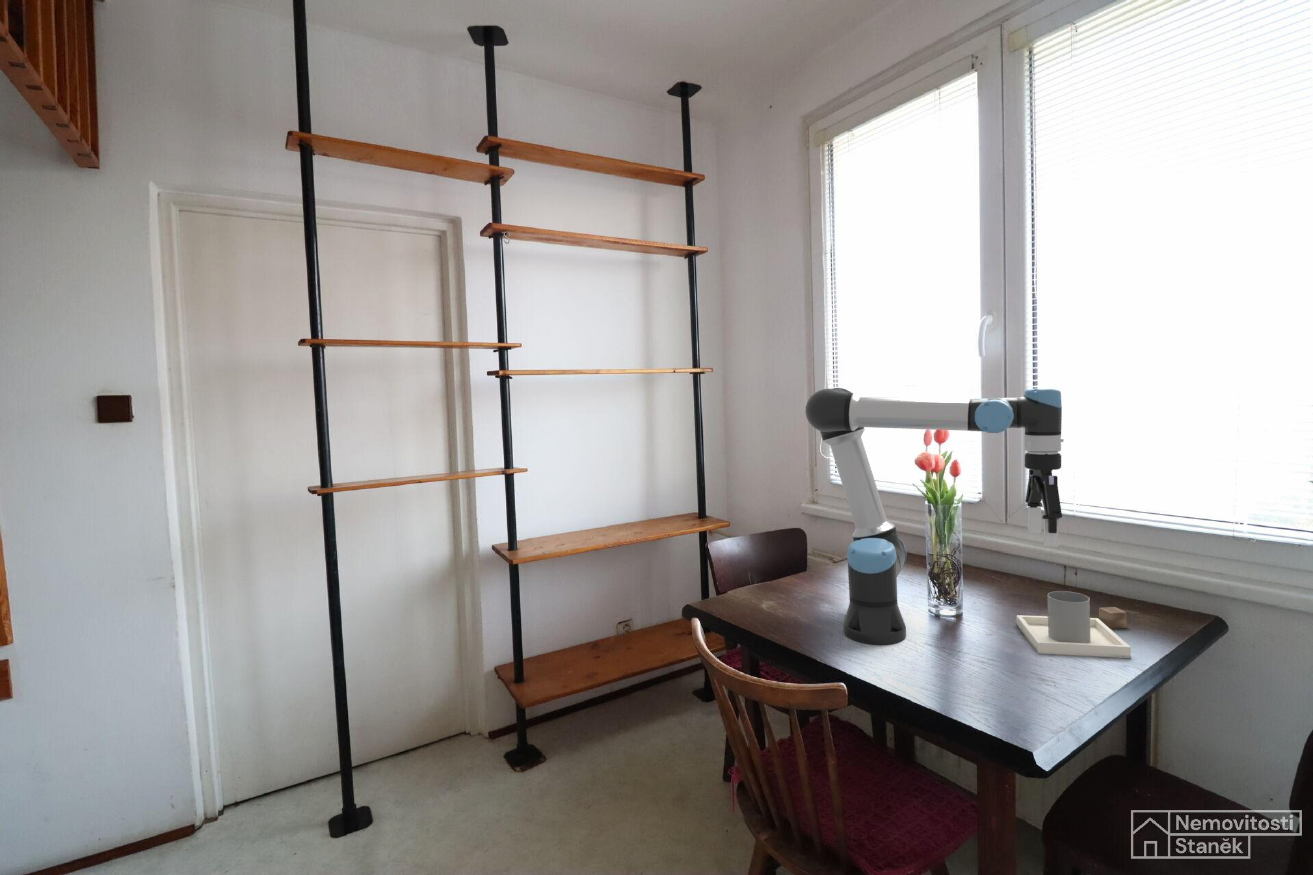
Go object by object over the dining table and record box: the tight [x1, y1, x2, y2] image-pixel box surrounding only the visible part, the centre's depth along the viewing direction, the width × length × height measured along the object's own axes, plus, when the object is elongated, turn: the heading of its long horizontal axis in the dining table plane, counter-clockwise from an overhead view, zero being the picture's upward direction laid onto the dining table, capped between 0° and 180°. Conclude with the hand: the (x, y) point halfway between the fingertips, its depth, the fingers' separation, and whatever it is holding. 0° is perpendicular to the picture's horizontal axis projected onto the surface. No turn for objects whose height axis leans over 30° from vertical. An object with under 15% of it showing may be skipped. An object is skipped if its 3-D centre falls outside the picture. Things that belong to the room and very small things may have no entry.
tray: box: [1016, 614, 1132, 659], centre depth 147 cm, size 18×18×2 cm
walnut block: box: [1098, 606, 1128, 630], centre depth 154 cm, size 4×4×4 cm
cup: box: [1047, 590, 1091, 643], centre depth 147 cm, size 8×8×10 cm
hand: (1042, 539), depth 150 cm, fingers open, 13 cm apart
